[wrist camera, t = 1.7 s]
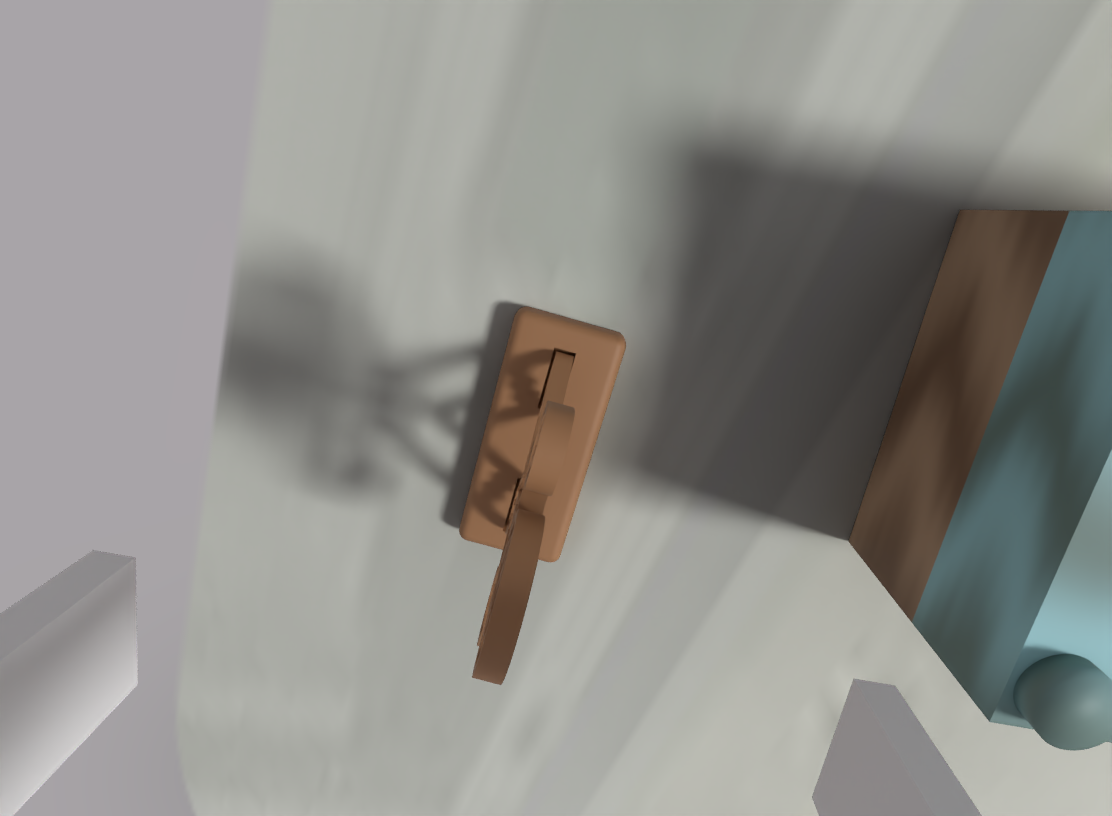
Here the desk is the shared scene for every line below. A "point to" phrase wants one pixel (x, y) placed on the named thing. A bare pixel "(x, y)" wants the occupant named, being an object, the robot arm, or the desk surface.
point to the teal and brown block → (1008, 472)
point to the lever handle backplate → (535, 461)
